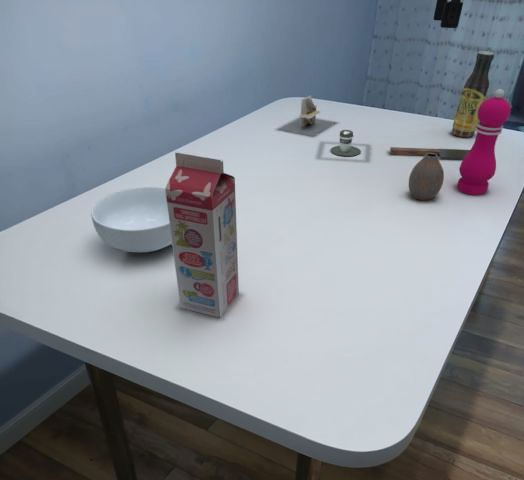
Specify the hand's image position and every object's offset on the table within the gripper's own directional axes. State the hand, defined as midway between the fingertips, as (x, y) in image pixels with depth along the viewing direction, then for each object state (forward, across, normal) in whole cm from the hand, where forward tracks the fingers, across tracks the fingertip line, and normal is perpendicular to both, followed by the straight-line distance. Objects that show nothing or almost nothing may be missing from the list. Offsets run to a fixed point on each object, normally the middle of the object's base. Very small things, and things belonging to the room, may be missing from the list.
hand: (444, 23), depth 98 cm
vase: (+29, -16, 0) cm, 33 cm away
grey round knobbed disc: (+29, +10, +16) cm, 35 cm away
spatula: (+29, +10, -6) cm, 31 cm away
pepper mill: (+29, -11, -11) cm, 33 cm away
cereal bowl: (+30, -43, +52) cm, 74 cm away
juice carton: (+30, -60, +37) cm, 76 cm away
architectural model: (+30, +30, +27) cm, 50 cm away
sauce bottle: (+29, +28, -16) cm, 43 cm away
